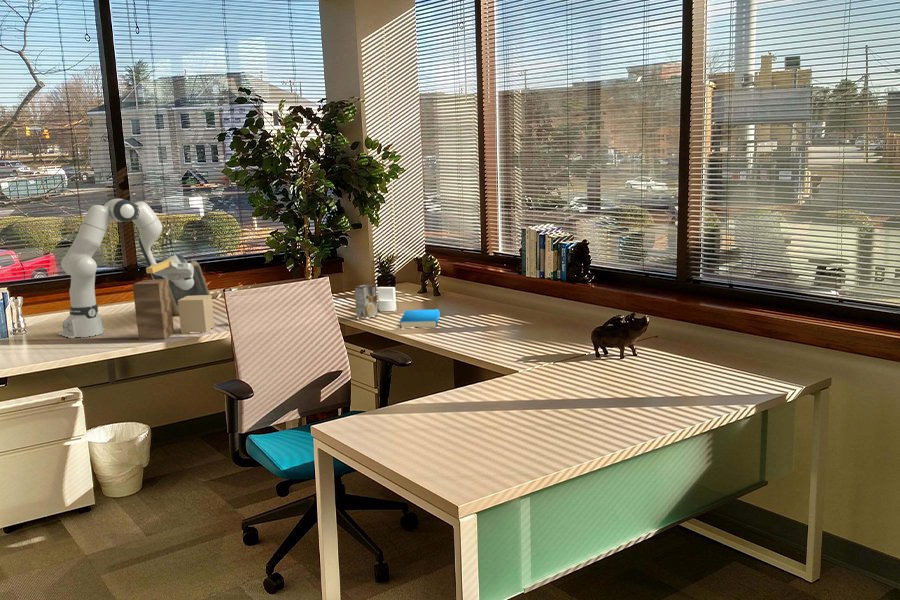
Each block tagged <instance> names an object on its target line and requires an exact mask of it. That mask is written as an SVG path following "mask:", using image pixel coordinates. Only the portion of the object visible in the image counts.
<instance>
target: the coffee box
mask: <svg viewBox="0 0 900 600" xmlns="http://www.w3.org/2000/svg"><path fill="white" fill-rule="evenodd" d="M353 288H354V299H355V312H356V313H355V315H356V318H357V317H364V318H366V317H371V316H375V315H378V316H379V313H378V312H379V309H378V295H377V284H370V283H366V284H360V285H357V286H354V287H353Z"/></svg>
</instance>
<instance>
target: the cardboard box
mask: <svg viewBox="0 0 900 600" xmlns="http://www.w3.org/2000/svg"><path fill="white" fill-rule="evenodd" d="M212 298H213V296H212V294H210V295H197V296H186V297H184V298H182V299H180V300H178V307H179V315H178V318H179V323H180V333H190V332H206V331H208V330H209V329H211V328H213V327H214V326H215V317H214V309H213V307H214V306H213V299H212ZM213 329H214V328H213Z"/></svg>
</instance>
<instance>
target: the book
mask: <svg viewBox="0 0 900 600" xmlns="http://www.w3.org/2000/svg"><path fill="white" fill-rule="evenodd" d="M440 313H441V312H440V310H439V309H437V308H436V309H415V310H414V309H413V310H412V309H411V310H407V309H406V310H404V312H403V315H402V317H401V319H400V321H399V323H400V325H401V326H400V328H401V327H428V328H427V329H429V328H437V326H438V322H439V318H440V316H441V315H440Z"/></svg>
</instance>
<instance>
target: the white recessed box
mask: <svg viewBox="0 0 900 600" xmlns="http://www.w3.org/2000/svg"><path fill="white" fill-rule="evenodd" d="M396 294H397V293H396V286H378V287H377V305H378V312H379V311H394V312H396V311H397V298H396V297H397V296H396ZM395 310H396V311H395Z"/></svg>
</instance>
